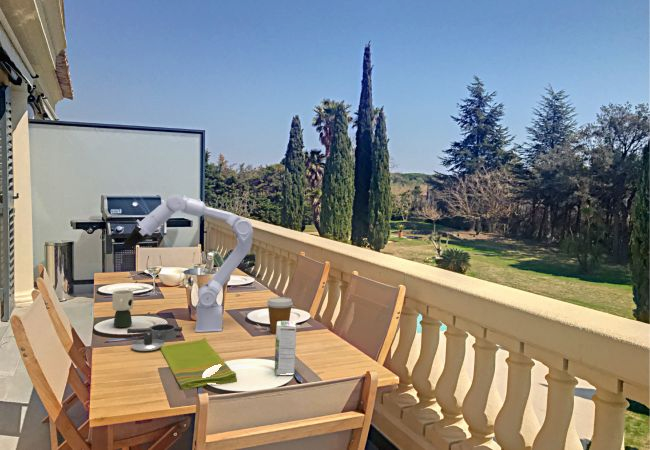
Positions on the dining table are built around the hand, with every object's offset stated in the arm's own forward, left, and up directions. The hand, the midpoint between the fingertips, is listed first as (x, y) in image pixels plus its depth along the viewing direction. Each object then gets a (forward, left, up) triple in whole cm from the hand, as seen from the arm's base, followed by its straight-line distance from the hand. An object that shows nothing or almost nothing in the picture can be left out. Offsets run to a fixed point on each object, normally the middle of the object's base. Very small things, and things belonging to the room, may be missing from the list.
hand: (125, 245), depth 180 cm
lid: (-9, +18, -31) cm, 37 cm away
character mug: (+2, -9, -32) cm, 33 cm away
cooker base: (-10, +7, -31) cm, 34 cm away
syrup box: (-49, +47, -32) cm, 75 cm away
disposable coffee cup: (-54, +6, -32) cm, 63 cm away
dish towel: (-24, +36, -32) cm, 54 cm away
